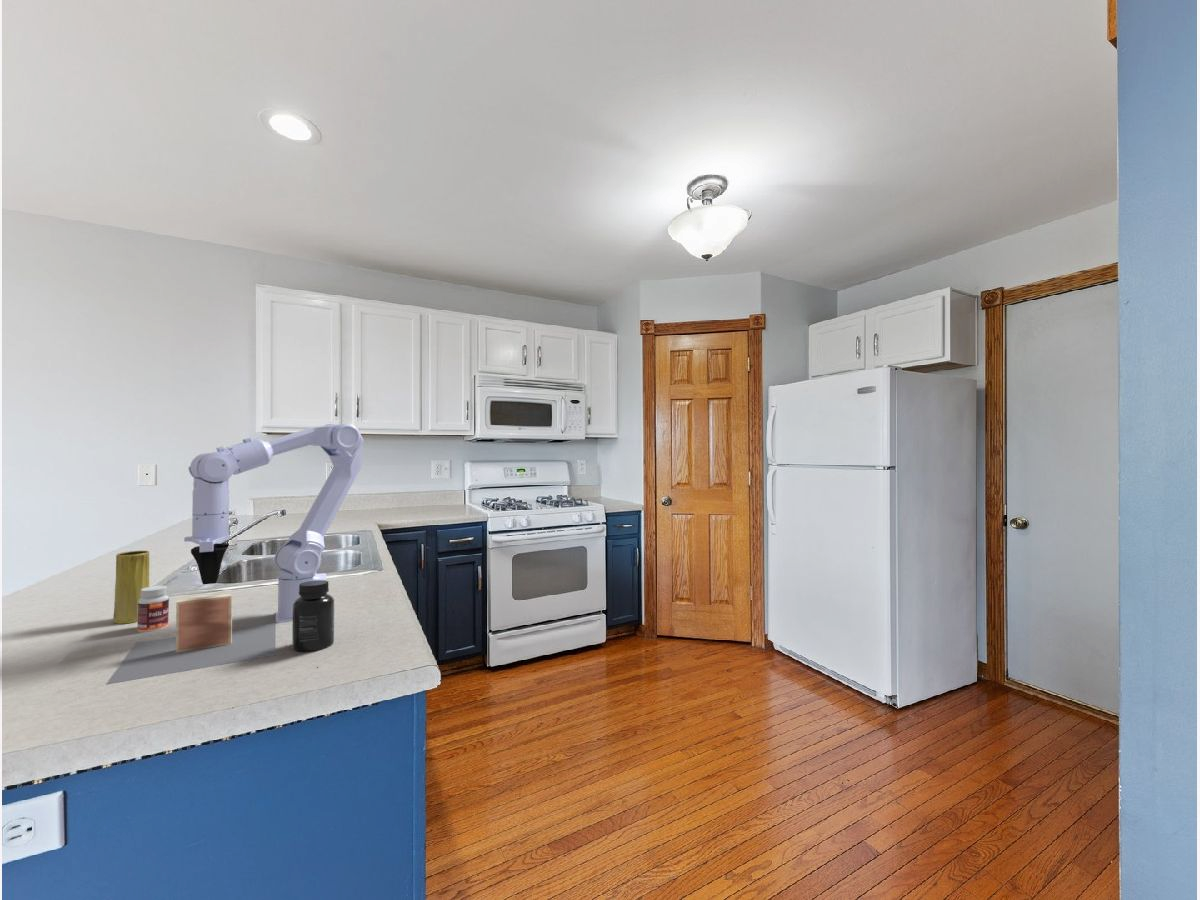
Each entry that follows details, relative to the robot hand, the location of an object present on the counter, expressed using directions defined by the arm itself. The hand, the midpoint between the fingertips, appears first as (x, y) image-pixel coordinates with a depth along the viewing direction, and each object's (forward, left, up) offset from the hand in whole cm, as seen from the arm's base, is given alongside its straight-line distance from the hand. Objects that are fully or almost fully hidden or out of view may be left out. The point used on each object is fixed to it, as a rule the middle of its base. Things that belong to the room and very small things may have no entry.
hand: (210, 582), depth 101 cm
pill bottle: (+10, -10, -11) cm, 18 cm away
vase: (+15, -20, -11) cm, 27 cm away
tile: (0, +8, -10) cm, 13 cm away
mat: (0, +9, -10) cm, 14 cm away
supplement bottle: (-17, +17, -11) cm, 26 cm away
